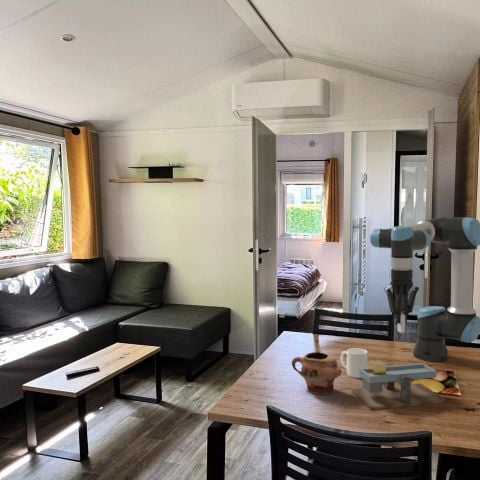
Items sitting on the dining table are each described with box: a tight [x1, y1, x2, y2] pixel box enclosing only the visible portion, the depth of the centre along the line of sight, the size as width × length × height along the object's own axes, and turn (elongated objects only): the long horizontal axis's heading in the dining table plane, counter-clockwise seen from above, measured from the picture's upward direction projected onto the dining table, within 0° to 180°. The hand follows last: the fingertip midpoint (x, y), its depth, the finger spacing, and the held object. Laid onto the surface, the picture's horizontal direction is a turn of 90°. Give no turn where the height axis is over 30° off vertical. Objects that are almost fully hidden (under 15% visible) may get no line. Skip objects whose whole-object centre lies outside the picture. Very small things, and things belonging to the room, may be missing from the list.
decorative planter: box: [291, 351, 342, 395], centre depth 184 cm, size 20×12×14 cm, turn 65°
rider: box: [368, 360, 387, 376], centre depth 174 cm, size 4×4×4 cm
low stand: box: [351, 364, 447, 411], centre depth 177 cm, size 29×16×10 cm, turn 100°
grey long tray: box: [360, 362, 437, 393], centre depth 176 cm, size 26×9×6 cm, turn 100°
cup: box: [339, 347, 368, 379], centre depth 201 cm, size 8×12×10 cm
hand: (401, 331), depth 177 cm, fingers closed
